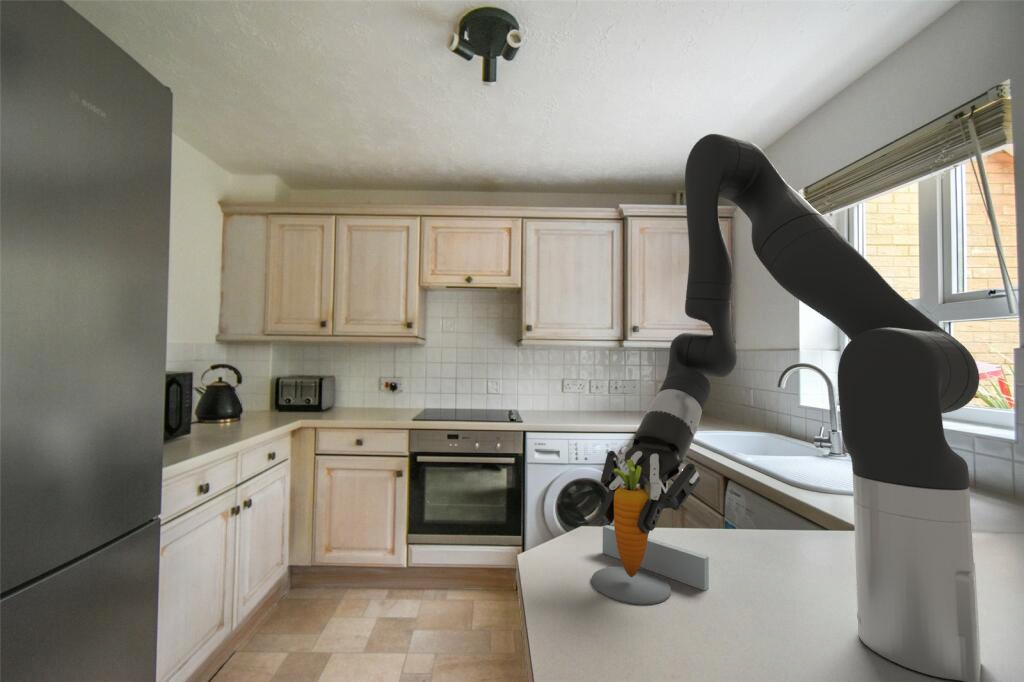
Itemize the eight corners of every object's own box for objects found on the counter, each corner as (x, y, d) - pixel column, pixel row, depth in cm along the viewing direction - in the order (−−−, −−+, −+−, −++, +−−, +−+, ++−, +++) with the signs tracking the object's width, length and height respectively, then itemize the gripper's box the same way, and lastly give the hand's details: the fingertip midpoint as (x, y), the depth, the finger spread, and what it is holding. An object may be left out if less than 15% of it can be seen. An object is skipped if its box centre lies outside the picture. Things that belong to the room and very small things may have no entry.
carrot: (642, 589, 55) (642, 466, 56) (605, 577, 58) (606, 461, 59) (656, 576, 59) (656, 461, 60) (621, 565, 62) (621, 456, 63)
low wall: (708, 588, 58) (708, 556, 59) (704, 590, 58) (704, 558, 58) (606, 551, 70) (607, 525, 70) (602, 553, 69) (602, 526, 70)
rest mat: (685, 588, 58) (684, 585, 58) (644, 613, 51) (644, 609, 51) (619, 563, 65) (619, 560, 65) (576, 582, 59) (576, 579, 59)
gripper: (618, 406, 71) (568, 495, 62) (708, 412, 60) (664, 521, 51) (636, 437, 74) (591, 527, 65) (724, 449, 63) (686, 557, 54)
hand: (623, 523), depth 58 cm, fingers closed on carrot, 5 cm apart
